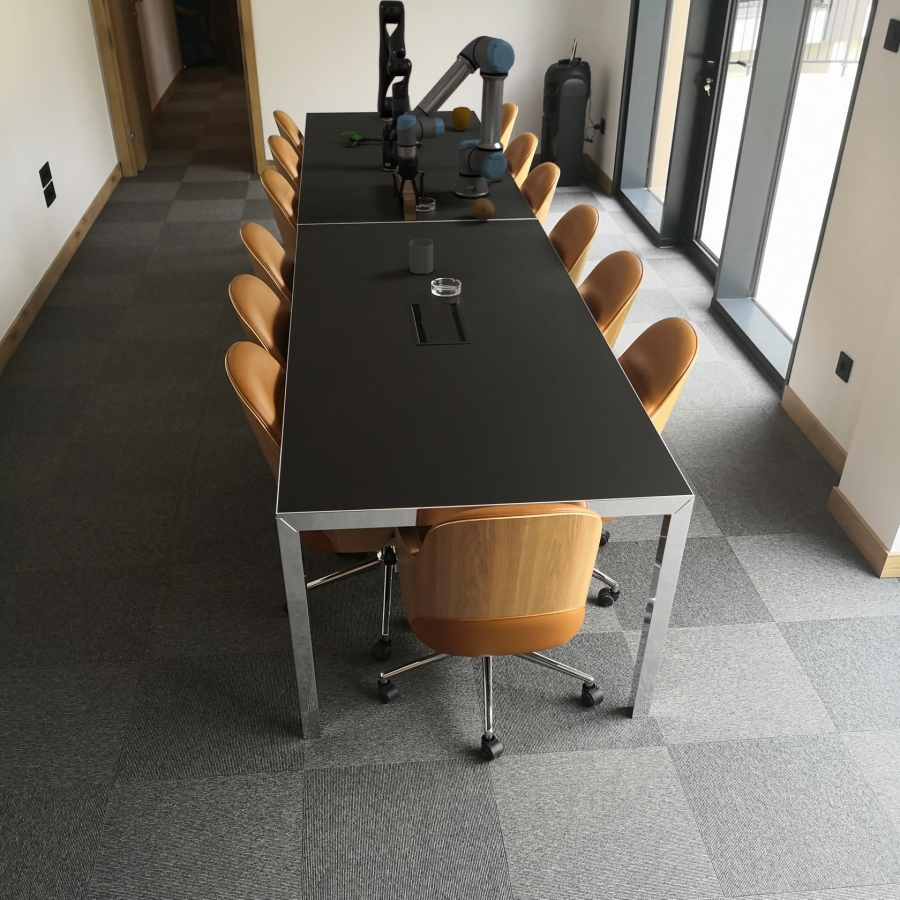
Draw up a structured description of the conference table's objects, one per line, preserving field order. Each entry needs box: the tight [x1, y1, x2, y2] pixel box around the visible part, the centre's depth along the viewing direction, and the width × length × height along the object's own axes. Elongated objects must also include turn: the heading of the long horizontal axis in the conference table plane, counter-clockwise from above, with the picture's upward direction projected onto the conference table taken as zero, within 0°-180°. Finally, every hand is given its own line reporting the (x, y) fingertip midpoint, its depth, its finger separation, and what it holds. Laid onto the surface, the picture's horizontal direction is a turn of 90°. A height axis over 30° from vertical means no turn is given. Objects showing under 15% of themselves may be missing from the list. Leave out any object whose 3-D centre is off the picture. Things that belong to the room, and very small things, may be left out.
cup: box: [408, 237, 434, 275], centre depth 305 cm, size 8×8×10 cm
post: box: [396, 166, 417, 222], centre depth 374 cm, size 52×5×9 cm, turn 7°
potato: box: [470, 197, 495, 221], centre depth 354 cm, size 10×14×8 cm
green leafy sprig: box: [339, 131, 382, 148], centre depth 462 cm, size 6×13×30 cm
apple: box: [451, 105, 472, 132], centre depth 487 cm, size 11×11×13 cm
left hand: (401, 147), depth 382 cm, fingers open, 8 cm apart
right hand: (409, 213), depth 361 cm, fingers closed on post, 5 cm apart
